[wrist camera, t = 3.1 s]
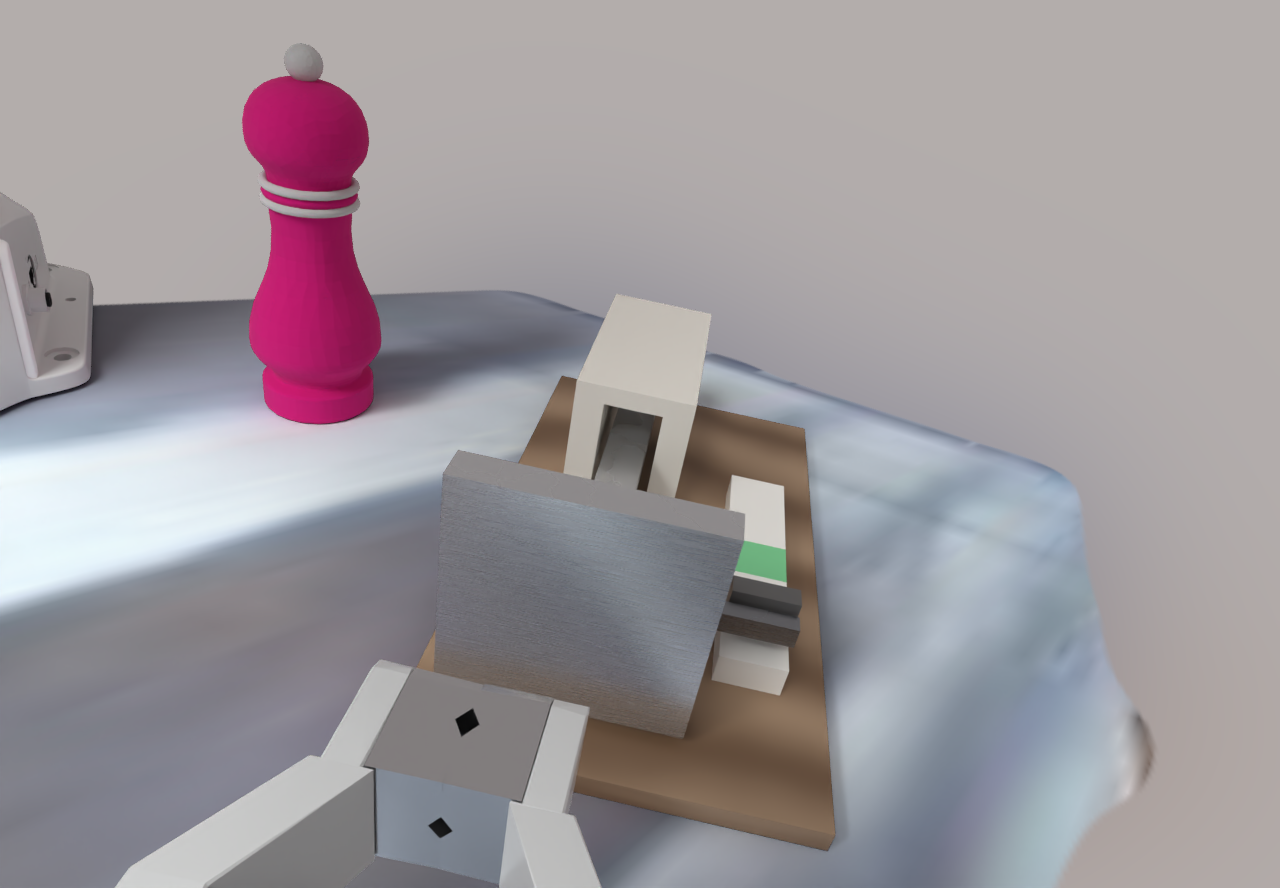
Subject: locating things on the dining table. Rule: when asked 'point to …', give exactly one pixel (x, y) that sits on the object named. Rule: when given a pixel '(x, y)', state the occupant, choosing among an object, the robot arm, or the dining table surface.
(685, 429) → the block
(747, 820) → the board
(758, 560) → the gauge scale
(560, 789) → the robot arm
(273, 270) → the pepper mill
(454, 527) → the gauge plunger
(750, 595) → the block
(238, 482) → the dining table surface
